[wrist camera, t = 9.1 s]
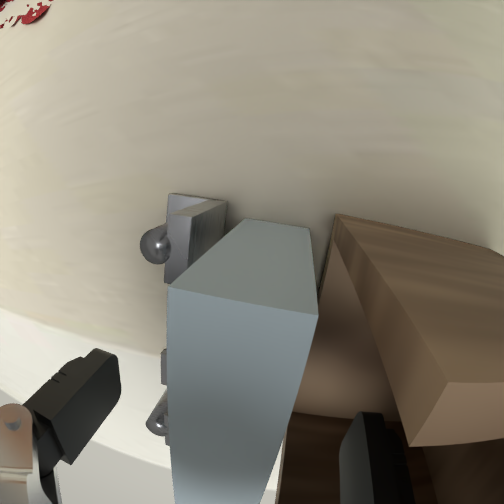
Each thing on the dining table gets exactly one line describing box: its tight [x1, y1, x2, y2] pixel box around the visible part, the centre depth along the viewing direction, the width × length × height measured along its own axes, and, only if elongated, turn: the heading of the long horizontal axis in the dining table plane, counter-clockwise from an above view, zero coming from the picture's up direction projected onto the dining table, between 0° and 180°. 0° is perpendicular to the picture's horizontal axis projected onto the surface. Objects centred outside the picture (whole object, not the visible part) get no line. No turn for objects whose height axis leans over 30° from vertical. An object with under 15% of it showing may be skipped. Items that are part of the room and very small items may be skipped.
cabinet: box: [275, 214, 504, 504], centre depth 9 cm, size 12×9×13 cm
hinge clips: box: [140, 193, 228, 446], centre depth 14 cm, size 11×3×5 cm, turn 172°
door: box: [167, 218, 319, 504], centre depth 12 cm, size 10×4×9 cm, turn 172°
